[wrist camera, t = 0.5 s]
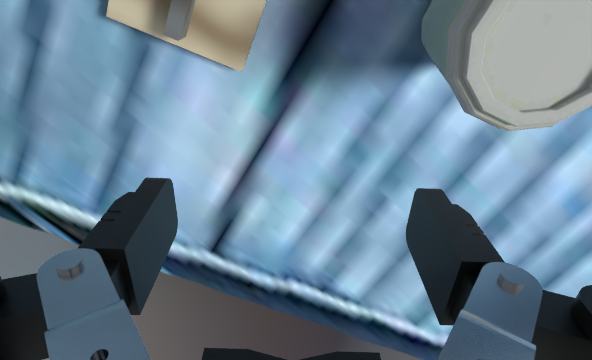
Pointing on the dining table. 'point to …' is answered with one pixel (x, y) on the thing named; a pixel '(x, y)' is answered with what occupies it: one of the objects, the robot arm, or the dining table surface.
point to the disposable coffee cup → (513, 58)
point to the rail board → (196, 25)
